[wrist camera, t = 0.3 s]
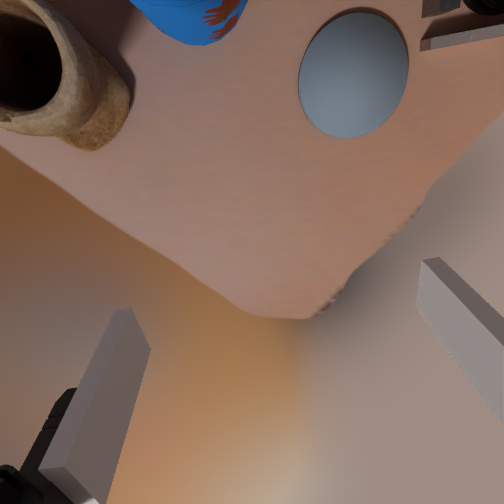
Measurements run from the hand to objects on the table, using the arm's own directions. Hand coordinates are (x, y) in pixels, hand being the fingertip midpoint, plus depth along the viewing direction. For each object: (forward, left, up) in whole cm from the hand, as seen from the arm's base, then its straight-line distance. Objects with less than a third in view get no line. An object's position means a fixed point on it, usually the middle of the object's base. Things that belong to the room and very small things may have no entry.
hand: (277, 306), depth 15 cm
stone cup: (-14, -17, -27) cm, 35 cm away
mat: (-8, +13, -27) cm, 31 cm away
